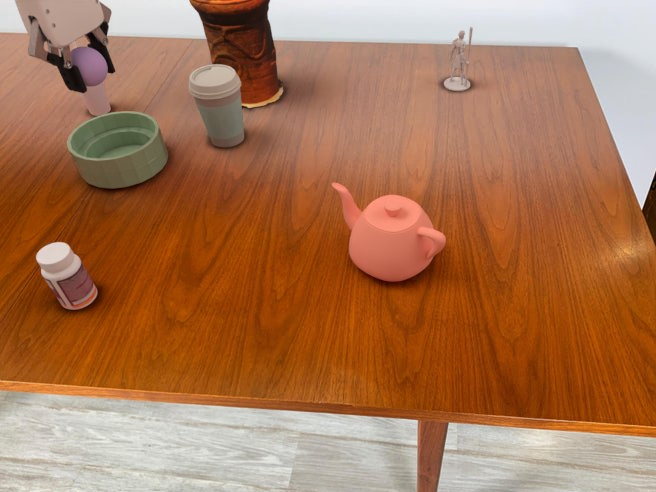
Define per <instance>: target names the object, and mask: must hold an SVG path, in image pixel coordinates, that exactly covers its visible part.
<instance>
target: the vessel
mask: <svg viewBox="0 0 656 492" xmlns="http://www.w3.org/2000/svg"><path fill="white" fill-rule="evenodd" d="M188 1H189V4H190V6H191V7H192V8H193V10H195V11H196V13H197V14H198V16H199V19H200V21H201V24H202V27H203V31H204V36H205V39H206V43H207V46H208V50H209V54H210V55H209V56H210V62H211V65H214V64H221V65H227V66H230V67H232V68H233V69H234V70H235V72H236V74H237V75H238V76H239V78H240V81H241V87H240V93H241V104H242V106H243V107H246V108H247V109H252V108H257V107H264V106H267V105H268V104H271V103H275V102H276V101H278V100H279V99H280V97H281V96H282V95H283V93H284V86H283V83H284V82H283V81H282V80H281V79H280V78H279V75H278V65H277V51H276V50H277V49H276V45H275V41H274V37H273V32H272V26H271V23H270V22H271V21H270V19H269V16H268V15H269V11H270V3H271V0H188Z"/></svg>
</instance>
